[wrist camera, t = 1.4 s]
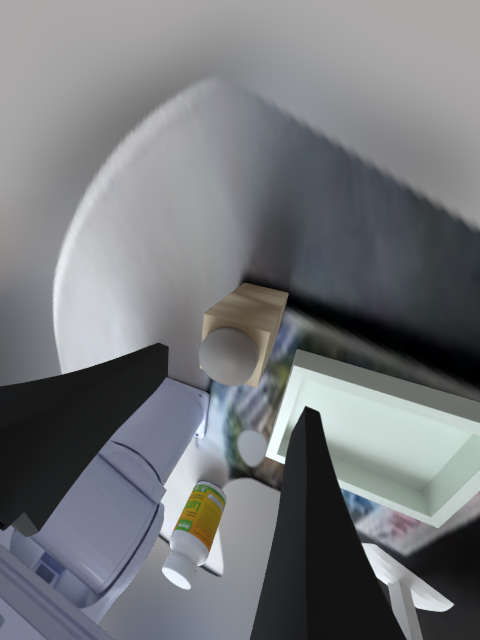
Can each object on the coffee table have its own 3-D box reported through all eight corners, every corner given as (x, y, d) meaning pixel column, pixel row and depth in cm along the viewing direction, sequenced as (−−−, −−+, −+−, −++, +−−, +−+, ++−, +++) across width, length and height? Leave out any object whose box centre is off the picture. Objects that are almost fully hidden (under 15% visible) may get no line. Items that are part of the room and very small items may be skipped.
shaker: (238, 321, 22) (191, 377, 14) (244, 282, 20) (195, 320, 12) (278, 333, 21) (252, 399, 13) (288, 292, 19) (266, 340, 11)
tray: (270, 434, 26) (265, 456, 23) (296, 348, 21) (293, 365, 18) (425, 494, 22) (438, 528, 20) (504, 409, 17) (535, 440, 15)
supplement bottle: (209, 476, 33) (171, 562, 25) (234, 500, 33) (204, 593, 25) (189, 484, 36) (149, 564, 27) (212, 506, 36) (180, 593, 28)
